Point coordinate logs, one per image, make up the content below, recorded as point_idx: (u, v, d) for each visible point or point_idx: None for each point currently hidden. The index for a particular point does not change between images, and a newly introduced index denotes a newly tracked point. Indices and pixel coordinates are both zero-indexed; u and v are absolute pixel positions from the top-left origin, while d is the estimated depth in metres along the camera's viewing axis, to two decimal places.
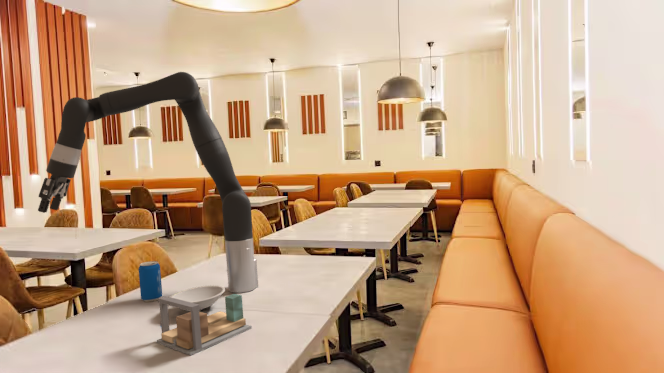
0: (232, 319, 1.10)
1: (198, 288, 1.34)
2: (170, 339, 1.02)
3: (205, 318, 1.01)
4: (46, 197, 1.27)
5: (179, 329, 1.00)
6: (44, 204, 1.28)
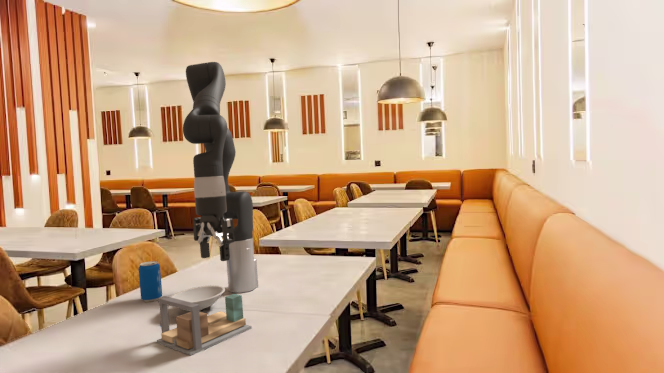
0: (232, 319, 1.10)
1: (198, 288, 1.34)
2: (170, 339, 1.02)
3: (205, 318, 1.01)
4: (233, 240, 1.05)
5: (179, 329, 1.00)
6: (228, 250, 1.06)
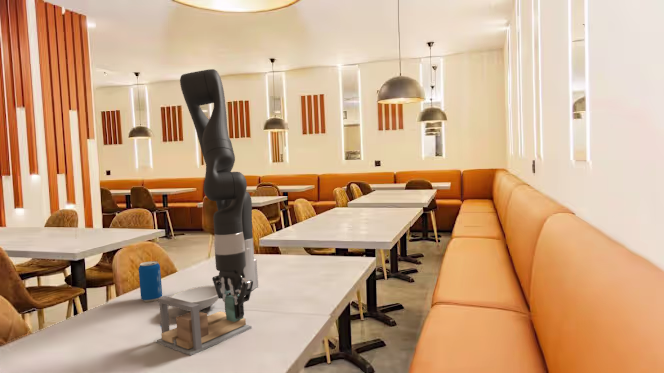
0: (232, 319, 1.10)
1: (198, 288, 1.34)
2: (170, 339, 1.02)
3: (205, 318, 1.01)
4: (248, 299, 1.09)
5: (179, 329, 1.00)
6: (242, 308, 1.10)
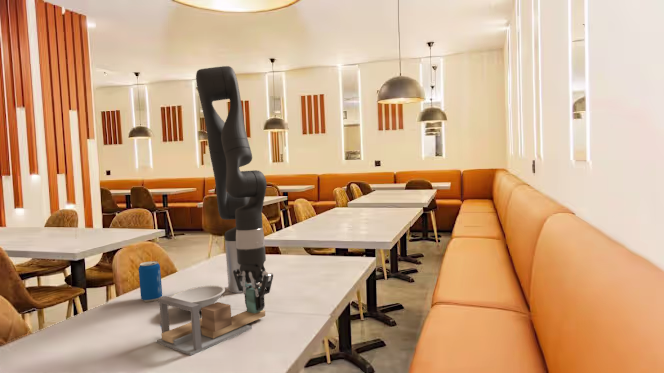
0: (252, 311, 1.15)
1: (198, 288, 1.34)
2: (170, 339, 1.02)
3: (228, 309, 1.07)
4: (268, 291, 1.14)
5: (204, 320, 1.06)
6: (263, 300, 1.15)
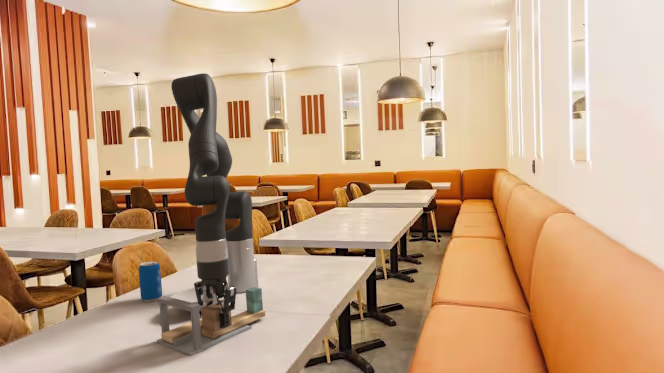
0: (252, 311, 1.15)
1: None
2: (170, 339, 1.02)
3: None
4: (233, 307, 1.04)
5: (204, 320, 1.06)
6: (227, 317, 1.05)
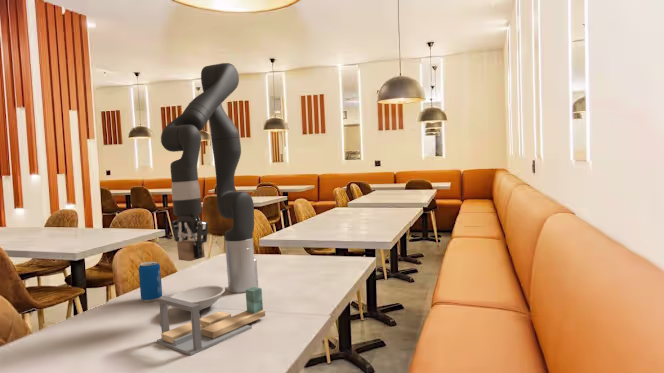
0: (252, 311, 1.15)
1: (198, 288, 1.34)
2: (170, 339, 1.02)
3: None
4: (205, 240, 1.19)
5: (179, 252, 1.20)
6: (200, 249, 1.20)
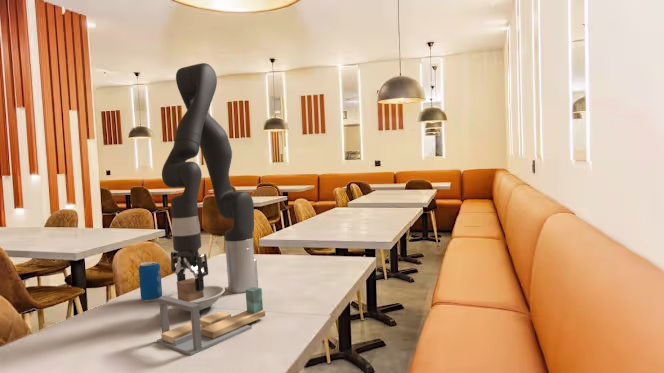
0: (252, 311, 1.15)
1: None
2: (170, 339, 1.02)
3: None
4: (207, 273, 1.19)
5: (179, 292, 1.22)
6: (202, 282, 1.20)
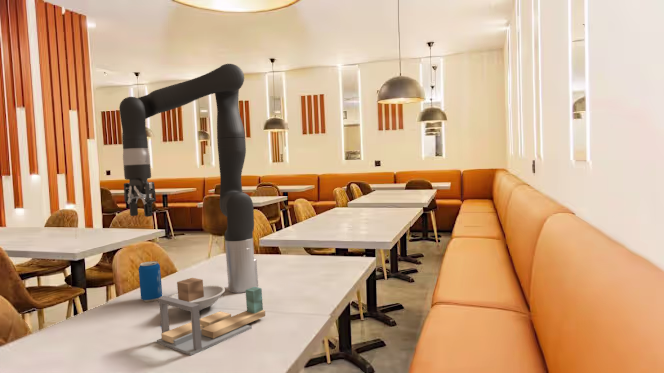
0: (252, 311, 1.15)
1: None
2: (170, 339, 1.02)
3: (201, 283, 1.23)
4: (155, 199, 1.30)
5: (179, 292, 1.22)
6: (150, 208, 1.31)
